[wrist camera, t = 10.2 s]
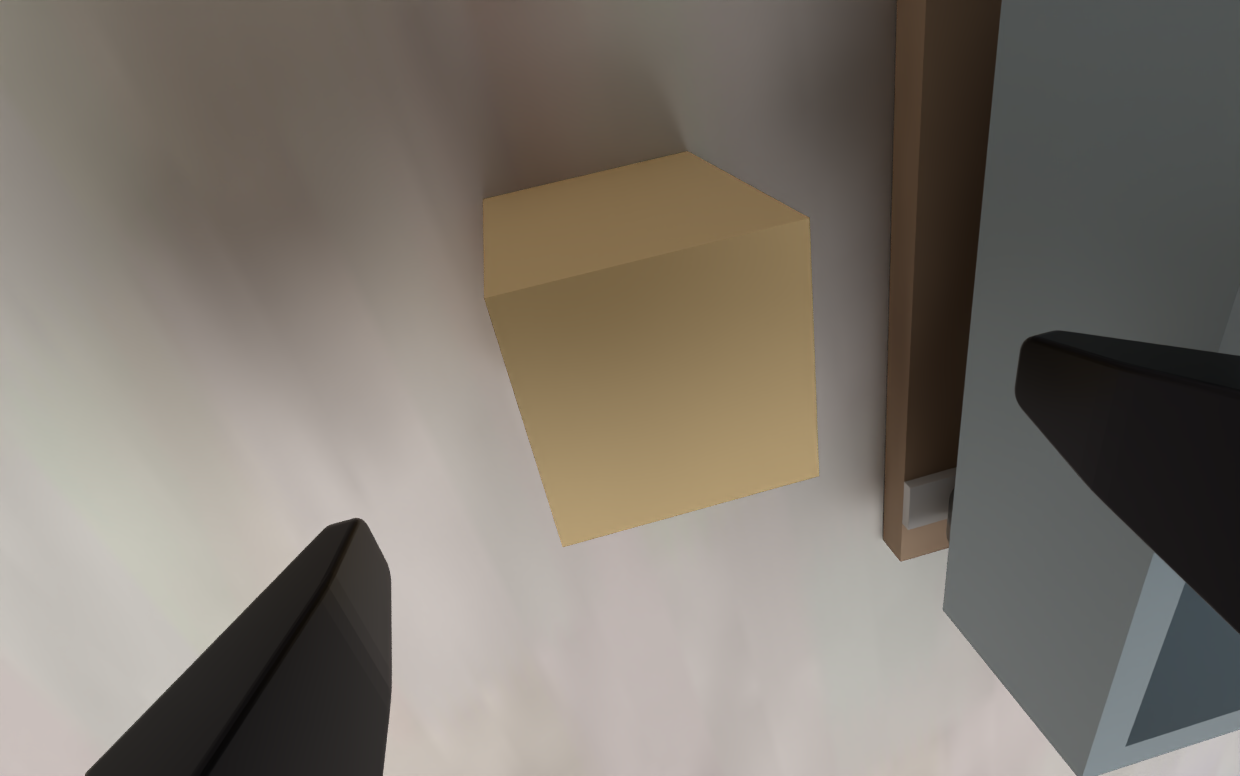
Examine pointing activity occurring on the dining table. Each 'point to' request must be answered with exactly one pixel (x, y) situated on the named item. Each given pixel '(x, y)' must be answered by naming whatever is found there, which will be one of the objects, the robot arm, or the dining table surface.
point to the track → (933, 254)
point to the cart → (1105, 306)
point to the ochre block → (654, 339)
